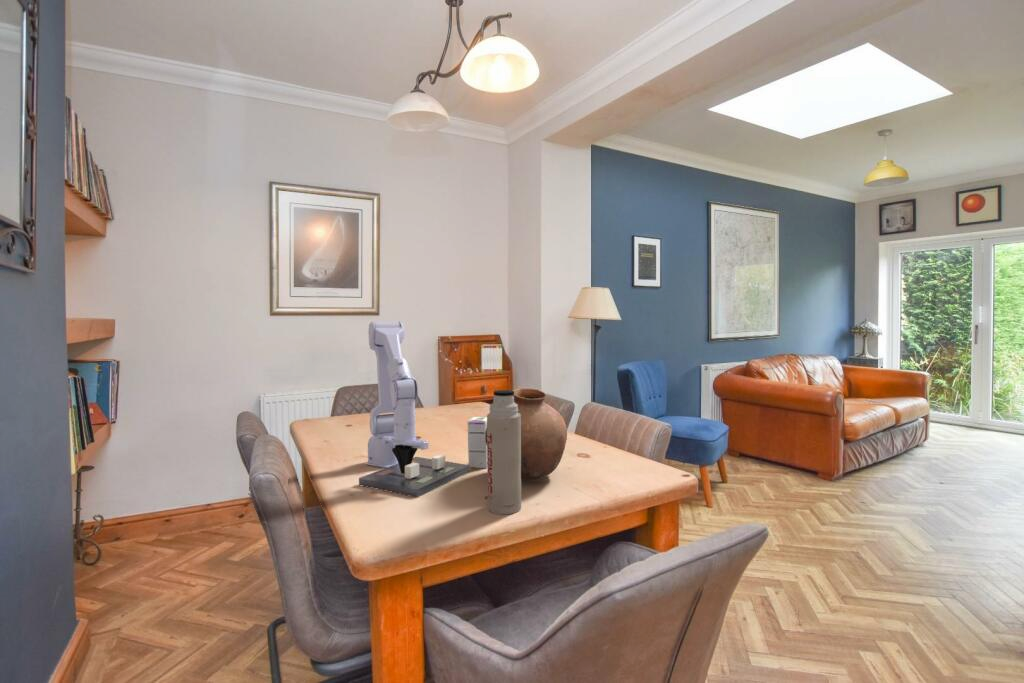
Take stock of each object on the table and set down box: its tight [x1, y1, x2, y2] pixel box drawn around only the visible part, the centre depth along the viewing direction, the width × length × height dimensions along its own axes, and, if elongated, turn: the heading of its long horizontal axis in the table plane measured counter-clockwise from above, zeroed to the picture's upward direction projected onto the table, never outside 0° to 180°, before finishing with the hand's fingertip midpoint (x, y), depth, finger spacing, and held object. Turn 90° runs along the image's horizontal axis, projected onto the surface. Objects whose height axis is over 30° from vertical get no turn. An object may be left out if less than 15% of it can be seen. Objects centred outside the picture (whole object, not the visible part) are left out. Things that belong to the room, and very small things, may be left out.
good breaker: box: [431, 454, 446, 469], centre depth 146 cm, size 2×4×3 cm, turn 151°
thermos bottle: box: [486, 389, 522, 515], centre depth 120 cm, size 8×8×28 cm
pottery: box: [485, 387, 568, 481], centre depth 143 cm, size 23×23×25 cm
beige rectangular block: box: [405, 463, 419, 478], centre depth 138 cm, size 2×4×3 cm, turn 151°
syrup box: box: [467, 416, 487, 469], centre depth 156 cm, size 6×6×14 cm
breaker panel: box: [358, 456, 471, 498], centre depth 144 cm, size 20×24×2 cm
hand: (405, 472), depth 139 cm, fingers closed
